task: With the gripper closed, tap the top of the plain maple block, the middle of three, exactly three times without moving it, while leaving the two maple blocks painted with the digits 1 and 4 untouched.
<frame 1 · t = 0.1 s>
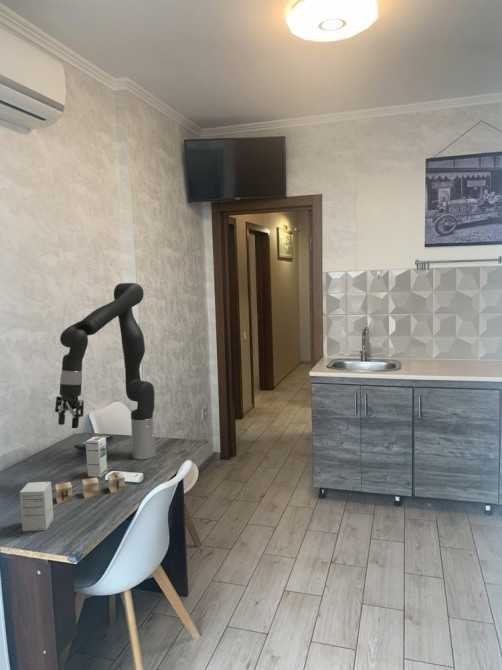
hand: (67, 426, 180), 22 cm above the table, tool pointing down, fingers open, 8 cm apart
plain block: (91, 494, 174), on the table
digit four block: (64, 499, 170), on the table
digit one block: (116, 489, 178), on the table
supplement box: (38, 525, 152), on the table
syrup box: (97, 474, 192), on the table
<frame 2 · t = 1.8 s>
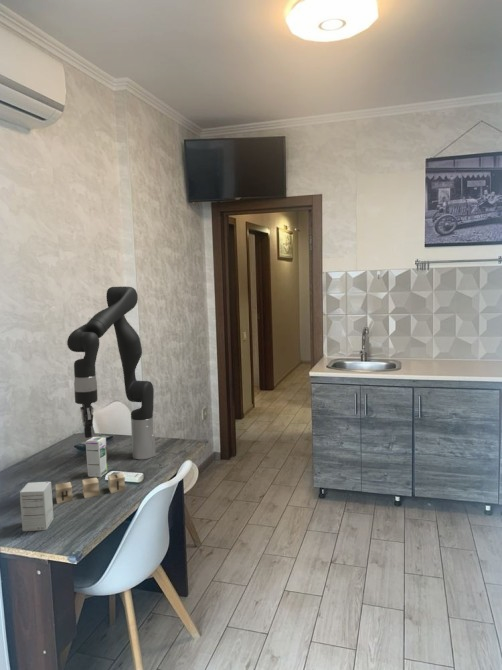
hand: (88, 436, 172), 21 cm above the table, tool pointing down, fingers closed
nothing on the table moved.
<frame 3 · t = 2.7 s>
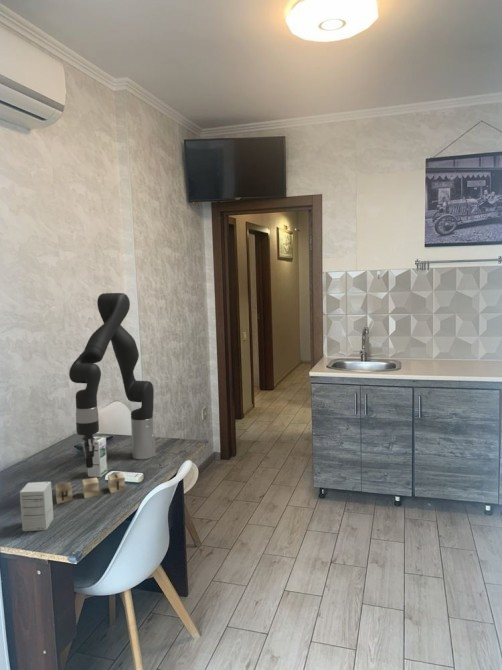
hand: (89, 467, 173), 10 cm above the table, tool pointing down, fingers closed
nothing on the table moved.
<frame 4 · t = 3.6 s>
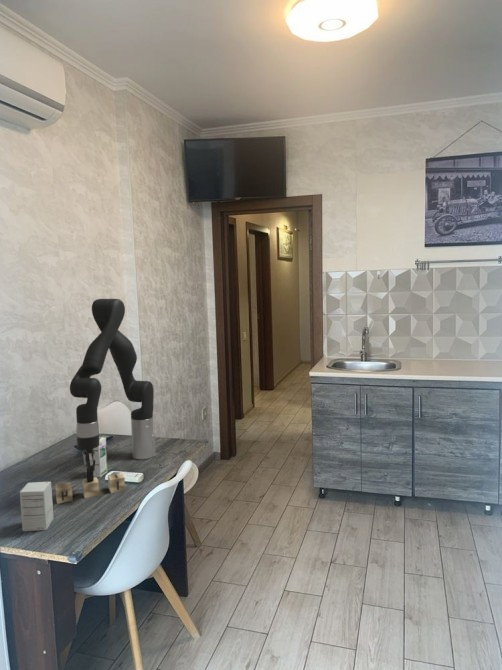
hand: (90, 480, 173), 5 cm above the table, tool pointing down, fingers closed
plain block: (91, 494, 174), on the table, touching gripper
everything else where it was.
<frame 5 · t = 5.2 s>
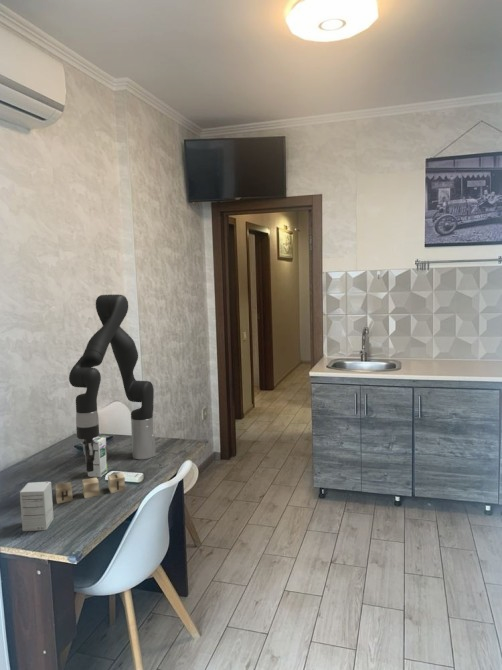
hand: (90, 470, 173), 9 cm above the table, tool pointing down, fingers closed
plain block: (91, 494, 174), on the table
everything else where it was.
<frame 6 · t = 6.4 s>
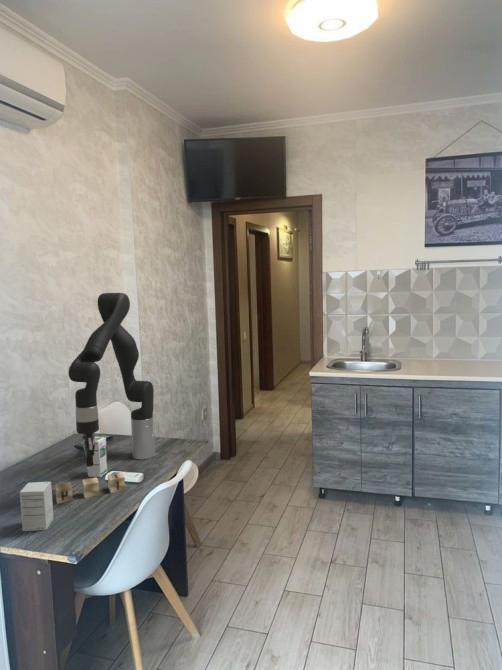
hand: (89, 465, 173), 10 cm above the table, tool pointing down, fingers closed
nothing on the table moved.
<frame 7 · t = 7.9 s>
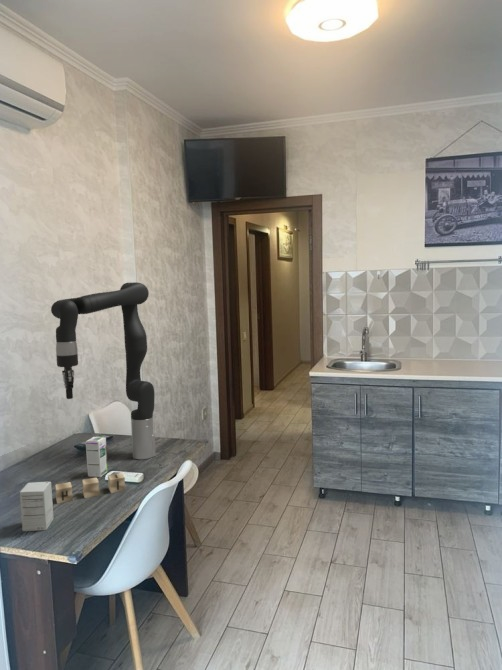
hand: (69, 398, 185), 32 cm above the table, tool pointing down, fingers closed
nothing on the table moved.
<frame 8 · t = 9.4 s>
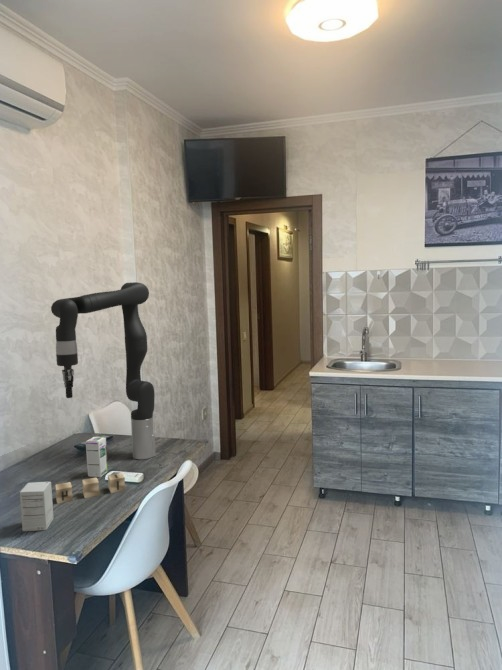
hand: (69, 397, 185), 32 cm above the table, tool pointing down, fingers closed
nothing on the table moved.
at the end: plain block moved 0.1 cm from its start; plain block tilted 0°; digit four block moved 0.1 cm from its start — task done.
